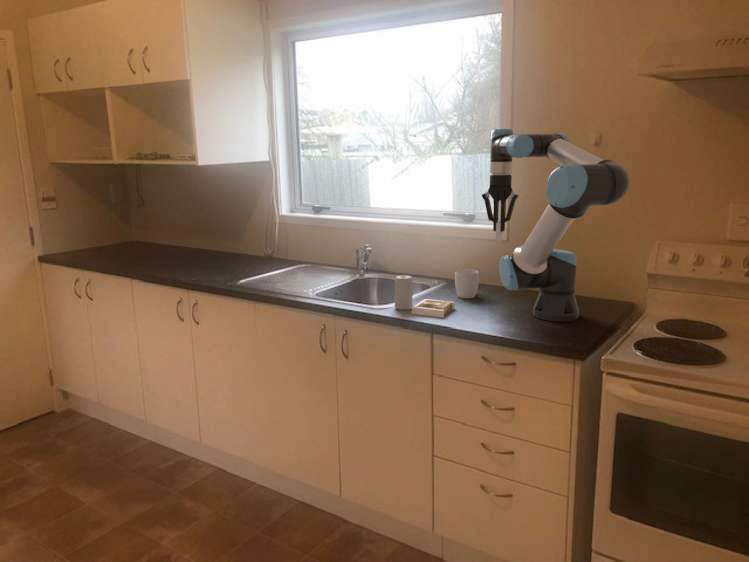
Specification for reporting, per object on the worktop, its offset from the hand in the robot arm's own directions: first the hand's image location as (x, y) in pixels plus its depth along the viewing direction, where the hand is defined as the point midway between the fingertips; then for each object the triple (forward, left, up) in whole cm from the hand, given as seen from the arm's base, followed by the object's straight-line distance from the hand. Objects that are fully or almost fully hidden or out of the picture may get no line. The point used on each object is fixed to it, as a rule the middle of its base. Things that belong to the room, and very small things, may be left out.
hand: (498, 240), depth 223 cm
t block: (+18, +16, -24) cm, 34 cm away
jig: (+19, +16, -24) cm, 34 cm away
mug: (+14, -11, -25) cm, 30 cm away
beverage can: (+30, +17, -25) cm, 42 cm away
